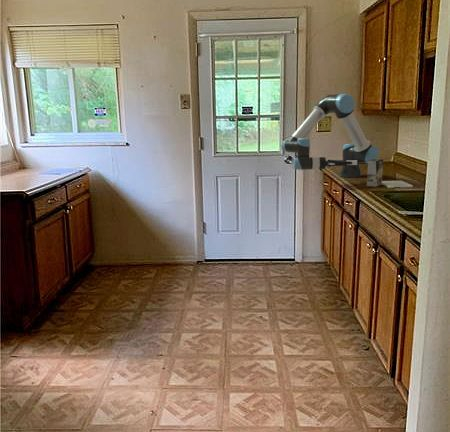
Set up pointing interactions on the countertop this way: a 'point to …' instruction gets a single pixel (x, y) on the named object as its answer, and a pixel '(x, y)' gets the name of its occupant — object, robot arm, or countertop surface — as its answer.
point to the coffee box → (375, 172)
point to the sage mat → (395, 184)
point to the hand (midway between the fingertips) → (356, 162)
